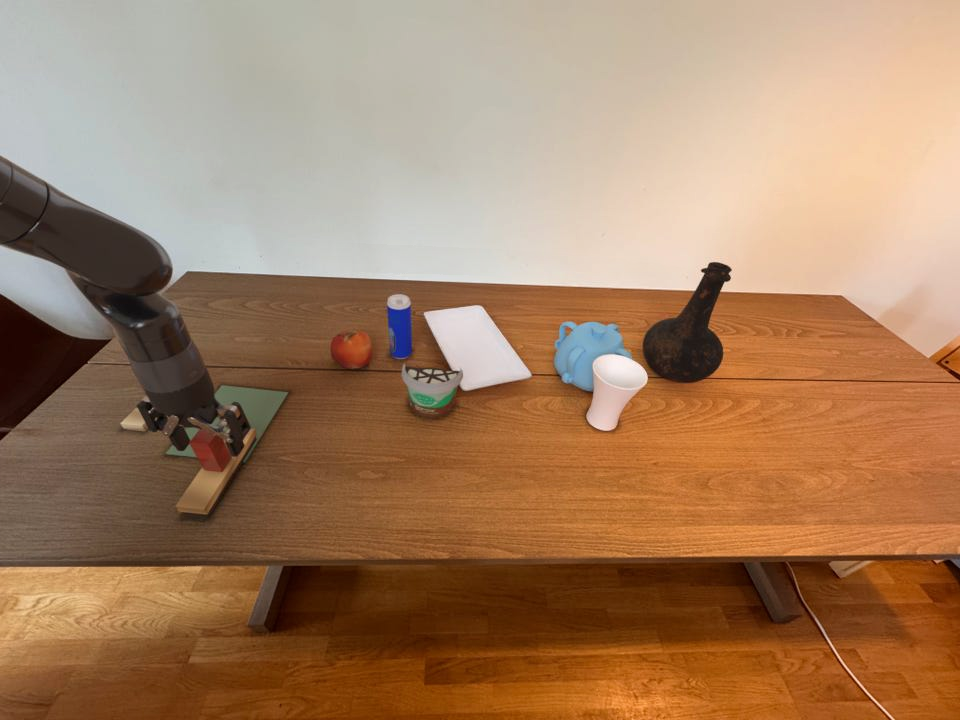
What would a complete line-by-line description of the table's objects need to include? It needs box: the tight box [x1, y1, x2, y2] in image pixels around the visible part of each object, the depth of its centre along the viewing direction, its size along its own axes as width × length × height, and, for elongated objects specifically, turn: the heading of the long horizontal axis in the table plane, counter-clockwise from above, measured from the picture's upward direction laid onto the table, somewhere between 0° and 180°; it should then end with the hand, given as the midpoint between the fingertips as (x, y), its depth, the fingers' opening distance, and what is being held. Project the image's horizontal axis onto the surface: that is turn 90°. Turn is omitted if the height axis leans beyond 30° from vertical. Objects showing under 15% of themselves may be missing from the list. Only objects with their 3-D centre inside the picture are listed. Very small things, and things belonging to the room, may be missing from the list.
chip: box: [120, 407, 157, 432], centre depth 78 cm, size 4×4×2 cm
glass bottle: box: [642, 261, 733, 384], centre depth 96 cm, size 18×18×28 cm
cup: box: [586, 354, 649, 432], centre depth 85 cm, size 10×10×14 cm
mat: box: [165, 384, 289, 464], centre depth 81 cm, size 18×14×1 cm
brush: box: [174, 428, 257, 520], centre depth 68 cm, size 16×4×10 cm, turn 176°
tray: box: [423, 304, 533, 392], centre depth 102 cm, size 17×31×4 cm, turn 22°
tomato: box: [330, 330, 373, 370], centre depth 94 cm, size 9×9×8 cm
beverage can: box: [386, 293, 413, 360], centre depth 96 cm, size 5×5×15 cm
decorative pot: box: [553, 321, 634, 392], centre depth 96 cm, size 16×16×14 cm
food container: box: [401, 362, 463, 419], centre depth 84 cm, size 12×6×10 cm, turn 88°
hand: (211, 449), depth 67 cm, fingers open, 8 cm apart
